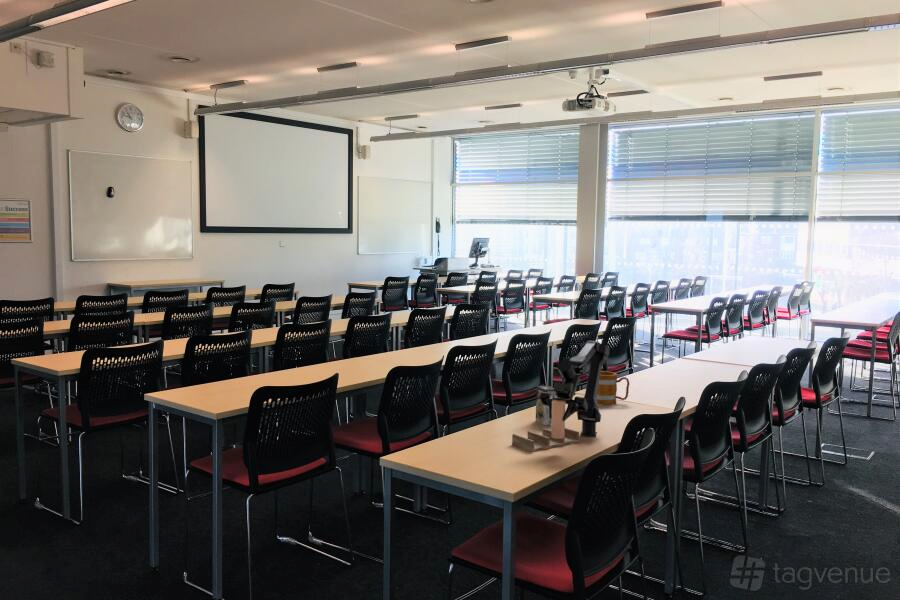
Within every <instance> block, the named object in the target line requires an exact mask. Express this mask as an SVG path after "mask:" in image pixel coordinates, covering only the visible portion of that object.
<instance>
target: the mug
mask: <svg viewBox="0 0 900 600" xmlns="http://www.w3.org/2000/svg"><path fill="white" fill-rule="evenodd" d="M622 380H625V381H626V388H625V396H624V397H621V396H618V395H617V390H618V384H617V383H620V382H621V381H622ZM629 389H630V380H629V378H627V377H626V376H623V377H620V378H619V379H618V373H617V372H613V371H608V370H606V371H605V370H601V373H600V379H599V384H598V390H597V395H596V401H597V403H598V404H602V405H601V406H613V405H616V404H617V399H618V400H620V401H625V400H627V398H628V396H629ZM612 404H613V405H612Z"/></svg>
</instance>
